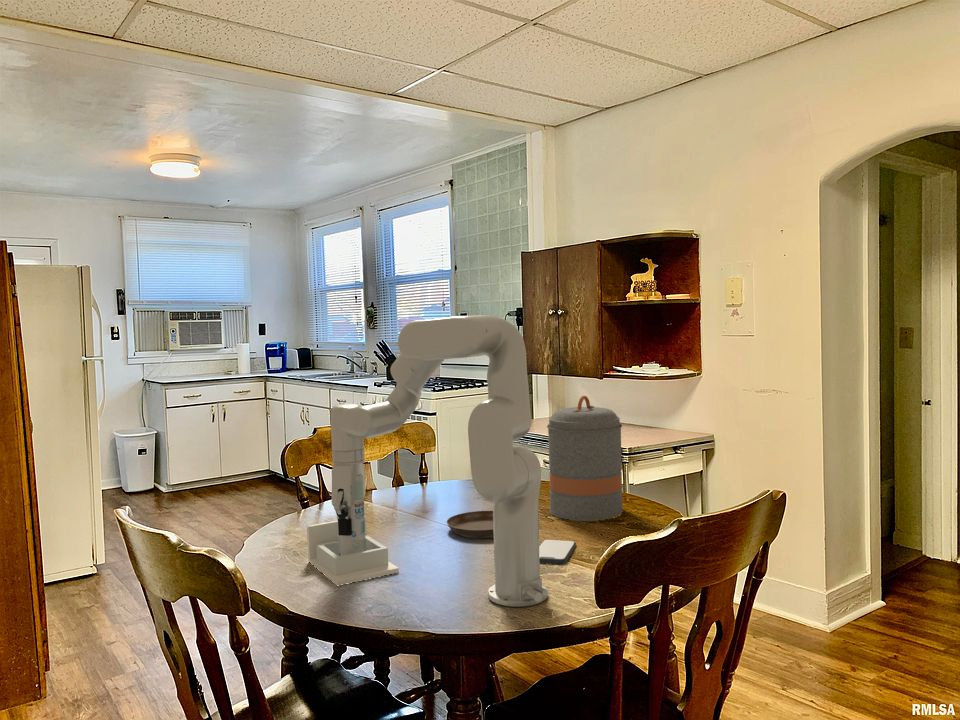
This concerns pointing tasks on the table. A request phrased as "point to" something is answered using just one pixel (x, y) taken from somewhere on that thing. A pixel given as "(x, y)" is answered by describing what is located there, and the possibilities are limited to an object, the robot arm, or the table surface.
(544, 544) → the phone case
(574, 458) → the storage container
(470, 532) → the plant saucer
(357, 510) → the spray can
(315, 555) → the white open box
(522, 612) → the table surface
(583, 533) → the table surface
